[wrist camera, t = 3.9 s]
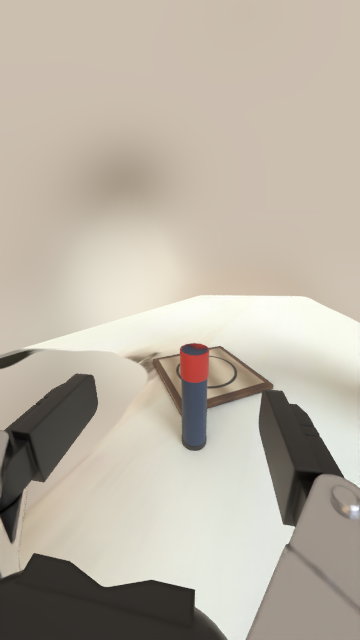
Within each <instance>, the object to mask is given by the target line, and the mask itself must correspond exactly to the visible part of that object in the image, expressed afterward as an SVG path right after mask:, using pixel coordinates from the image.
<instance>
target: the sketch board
mask: <svg viewBox="0 0 360 640" xmlns="http://www.w3.org/2000/svg"><path fill="white" fill-rule="evenodd" d="M153 363H154V365H155V367H156V369H157V371H158V372H159V374H160V376H161V378H162V380H163V382H164V384H165V386H166V387H167V389H168V391H169V393H170V395H171V397H172V399H173V401H174V402H175V404H176V406H177V408H178V410H179V412H180V414H181V416H182V388H181V375H180V354H177V355H172V356H167V357H162V358H156V359H153ZM264 389H266V390H270V389H273V384H272V383H270V382H269V381H268V380H266V379H265V378H264V377H262V376H261V375H259V374H258V373H257V372H255V371H254V370H253V369H251V368H250V367H249V366H247V365H246V364H244V363H243V362H242V361H240V360H239V359H238V358H236V357H235V356H234V355H232V354H231V353H230V352H228V351H227V350H225V349H224V348H223V347H221V346H218V347H213V348H209V375H208V380H207V408H211V407H214V406H217V405H221V404H224V403H227V402H230V401H234V400H237V399H240V398H243V397H247V396H250V395H253V394H257V393H260V392H263V390H264Z"/></svg>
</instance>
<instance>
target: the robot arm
mask: <svg viewBox="0 0 360 640" xmlns="http://www.w3.org/2000/svg"><path fill="white" fill-rule="evenodd" d="M97 406H98V399H97V392H96V386H95V380H94V377H93V376H92V375H87V374H75V375H74V376H73V377H71V378H70V379H69V380H68V381H67V382H66V383H64V384H62V385H60V386H58V387H56V388H54V389H52V390H51V391H50V392H49V393H48V394H46V395H45V396H44V398H43V399H41V400H40V401H38V402H37V403H36V405H33V406H32V407H31V408H30V409H29V410H28V411H26V412H25V413H24V414H23V415H22V416H20V417H19V418H18V419H17V420H16V421H15V422H13V423H12V424H11V425H10V426H9V427H8V428H6V429H5V430H4V431H0V640H227V638H226V637H225V635H224V634H223V633H222V632H221V630H220V629H219V628H218V627H217V626H216V624H215V623H214V622H213V621H212V620H211V619H209V618H208V617H207V616H206V615H205V614H204V613H203V612H201V611H200V610H198V609H197V608H196V607H195V590H194V589H189V588H185V587H181V586H176V585H172V584H167V583H163V582H159V581H154V580H148V581H142V582H136V583H130V584H124V585H118V586H112V587H103V586H101V585H99V584H98V583H97V582H96V581H94V580H93V579H92V578H91V577H89V576H88V575H87V574H85V573H84V572H83V571H82V570H80V569H79V568H78V567H77V566H75V565H74V564H73V563H71V562H70V561H66V560H62V559H58V558H53V557H49V556H44V555H40V554H36V553H34V554H33V555H32V557H31V559H30V560H29V562H28V564H27V565H26V567H25V569H24V570H22V571H20V563H19V547H20V540H21V533H22V526H23V519H24V512H25V505H26V498H27V489H26V486H27V485H28V484H29V483H30V481H31V480H33V481H39V482H45V480H46V479H47V478H48V476H49V475H50V473H51V472H52V471H53V470H54V468H55V467H56V466H57V464H58V463H59V462H60V460H61V459H62V458H63V456H64V455H65V454H66V452H67V451H68V449H69V448H70V447H71V445H72V444H73V443H74V441H75V440H76V439H77V437H78V436H79V435H80V433H81V432H82V430H83V429H84V428H85V426H86V425H87V424H88V422H89V421H90V420H91V418H92V417H93V416H94V414H95V412H96V410H97ZM259 431H260V436H261V440H262V443H263V447H264V451H265V455H266V459H267V463H268V467H269V471H270V475H271V479H272V482H273V486H274V490H275V494H276V498H277V502H278V506H279V510H280V514H281V518H282V522H283V524H284V525H290V526H295V530H294V532H293V535H292V537H291V540H290V542H289V544H286V546H285V548H284V550H283V552H282V554H281V556H280V559H279V561H278V564H277V566H276V568H275V571H274V573H273V576H272V578H271V580H270V583H269V585H268V588H267V590H266V592H265V595H264V597H263V600H262V602H261V604H260V607H259V609H258V612H257V614H256V616H255V619H254V621H253V624H252V626H251V628H250V631H249V633H248V636H247V638H246V640H360V488H359V487H357V486H356V485H355V484H353V483H352V482H350V481H348V480H346V479H345V478H344V476H343V475H342V473H341V471H340V469H339V468H338V466H337V464H336V462H335V461H334V459H333V457H332V456H331V454H330V452H329V450H328V449H327V447H326V445H325V444H324V442H323V440H322V438H321V437H320V436H319V433H318V432H317V430H316V428H315V427H314V425H313V423H312V421H311V419H310V418H309V416H308V414H307V413H306V412H304V411H303V410H302V409H301V408H300V407H299V406H298V405H297V404H289V403H288V401H287V399H286V397H285V395H284V393H283V391H278V390H266V389H264V390H263V392H262V398H261V406H260V413H259Z"/></svg>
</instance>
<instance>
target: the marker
mask: <svg viewBox="0 0 360 640" xmlns="http://www.w3.org/2000/svg"><path fill="white" fill-rule="evenodd" d="M180 375H181V388H182V442H183V445H184V446H185V447H186V448H187V449H189V450H194V451H195V450H200V449H202V448H203V447H204V446H205V444H206V416H207V380H208V375H209V348H208V347H207V346H205V345H202V344H196V343H192V344H186V345H184V346H182V347H181V348H180Z"/></svg>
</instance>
